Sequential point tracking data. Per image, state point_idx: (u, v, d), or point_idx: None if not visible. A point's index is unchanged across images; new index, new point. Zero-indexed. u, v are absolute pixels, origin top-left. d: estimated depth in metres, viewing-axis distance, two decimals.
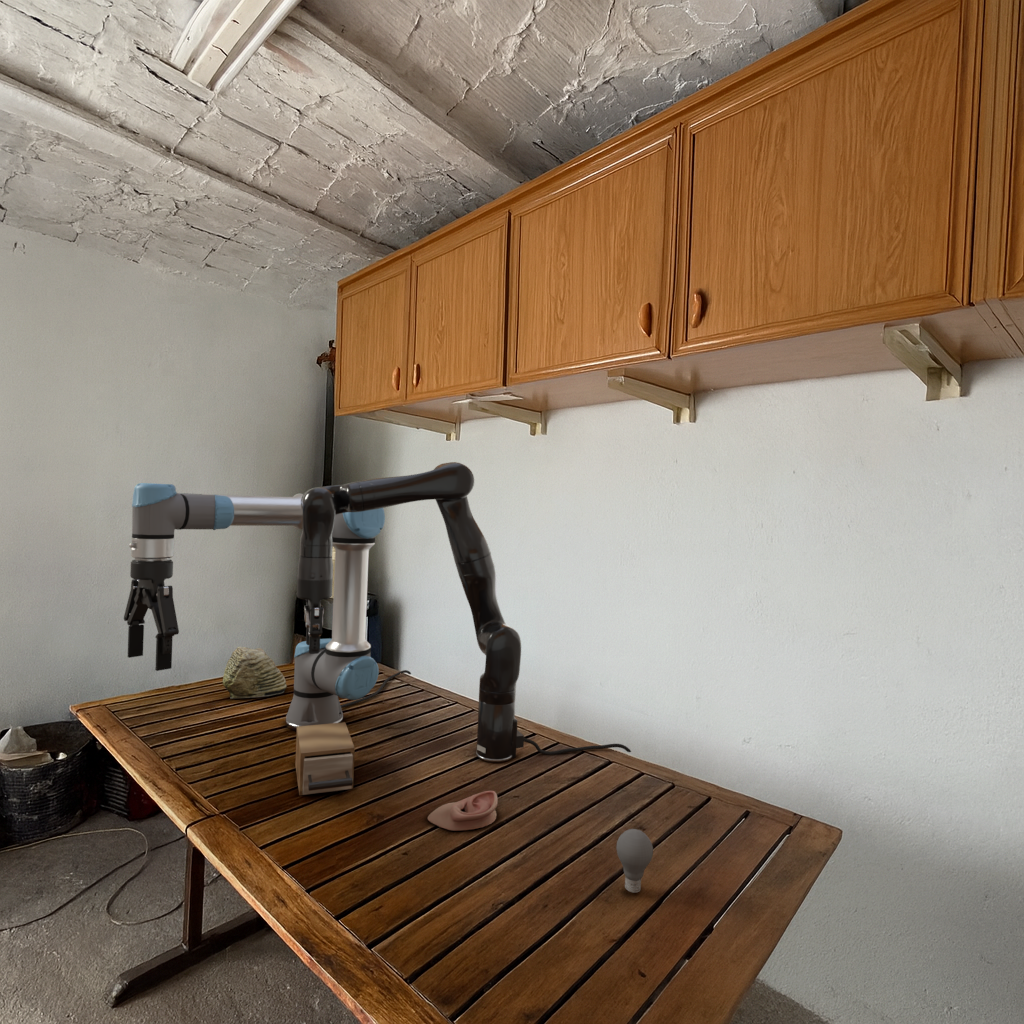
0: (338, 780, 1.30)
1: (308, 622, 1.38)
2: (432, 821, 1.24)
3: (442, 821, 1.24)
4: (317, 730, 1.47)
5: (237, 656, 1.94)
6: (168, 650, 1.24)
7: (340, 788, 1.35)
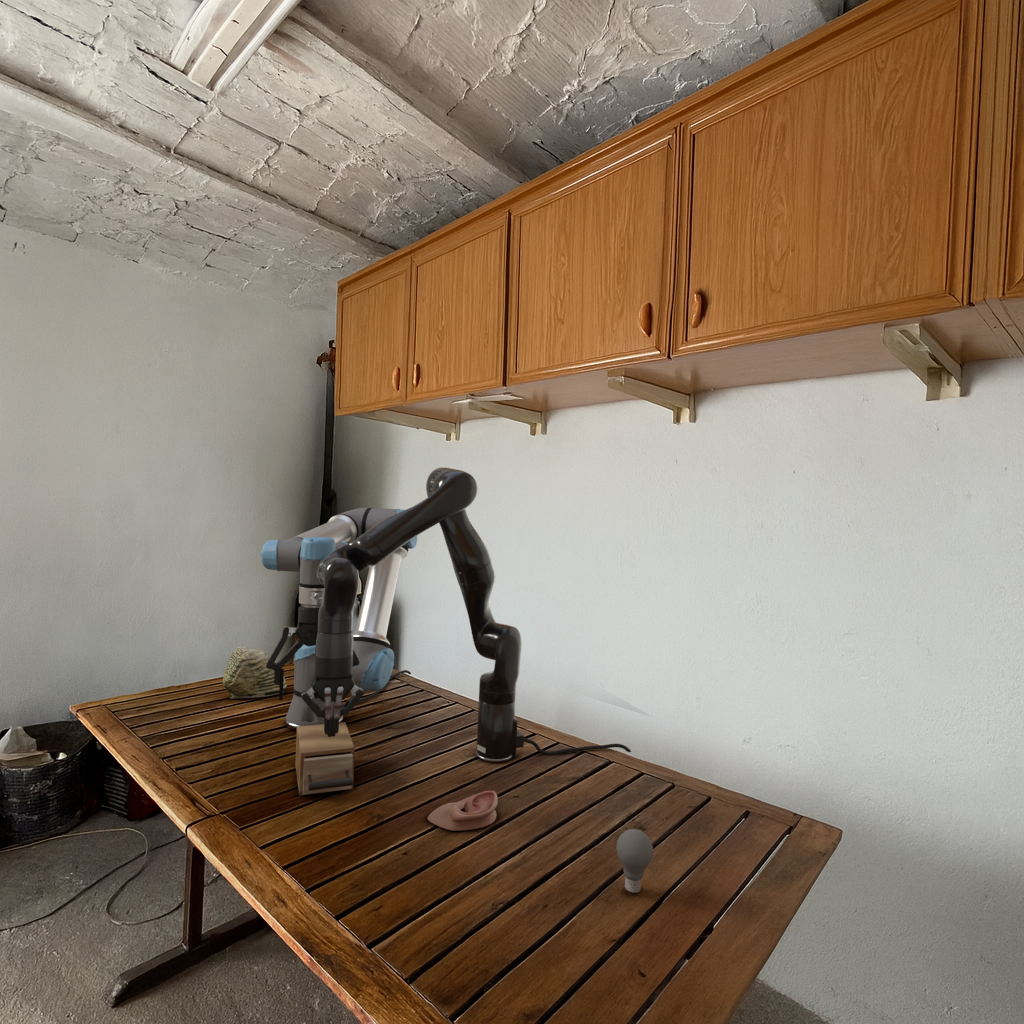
0: (338, 780, 1.30)
1: (323, 701, 1.32)
2: (432, 821, 1.24)
3: (442, 821, 1.24)
4: (317, 730, 1.47)
5: (237, 656, 1.94)
6: None
7: (340, 788, 1.35)
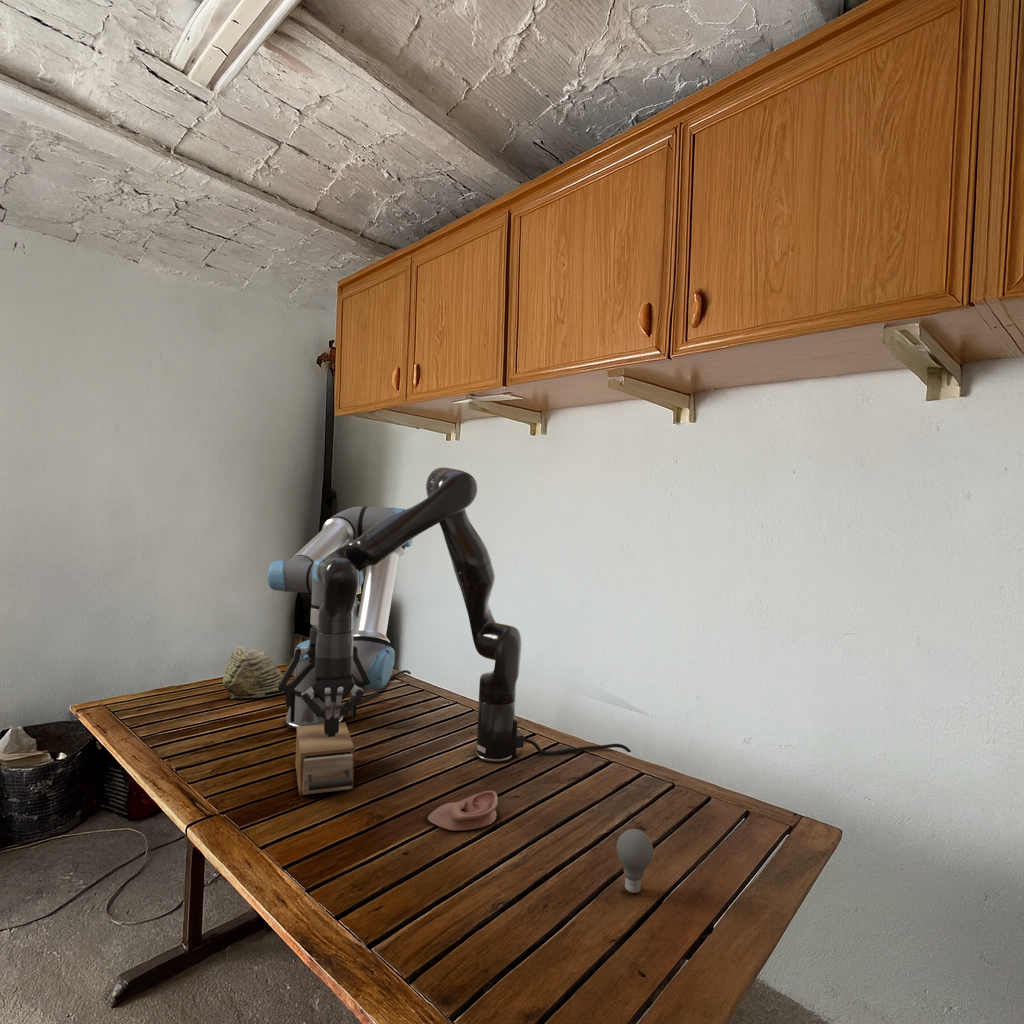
0: (338, 780, 1.30)
1: (323, 701, 1.32)
2: (432, 821, 1.24)
3: (442, 821, 1.24)
4: (317, 730, 1.47)
5: (237, 656, 1.94)
6: None
7: (340, 788, 1.35)
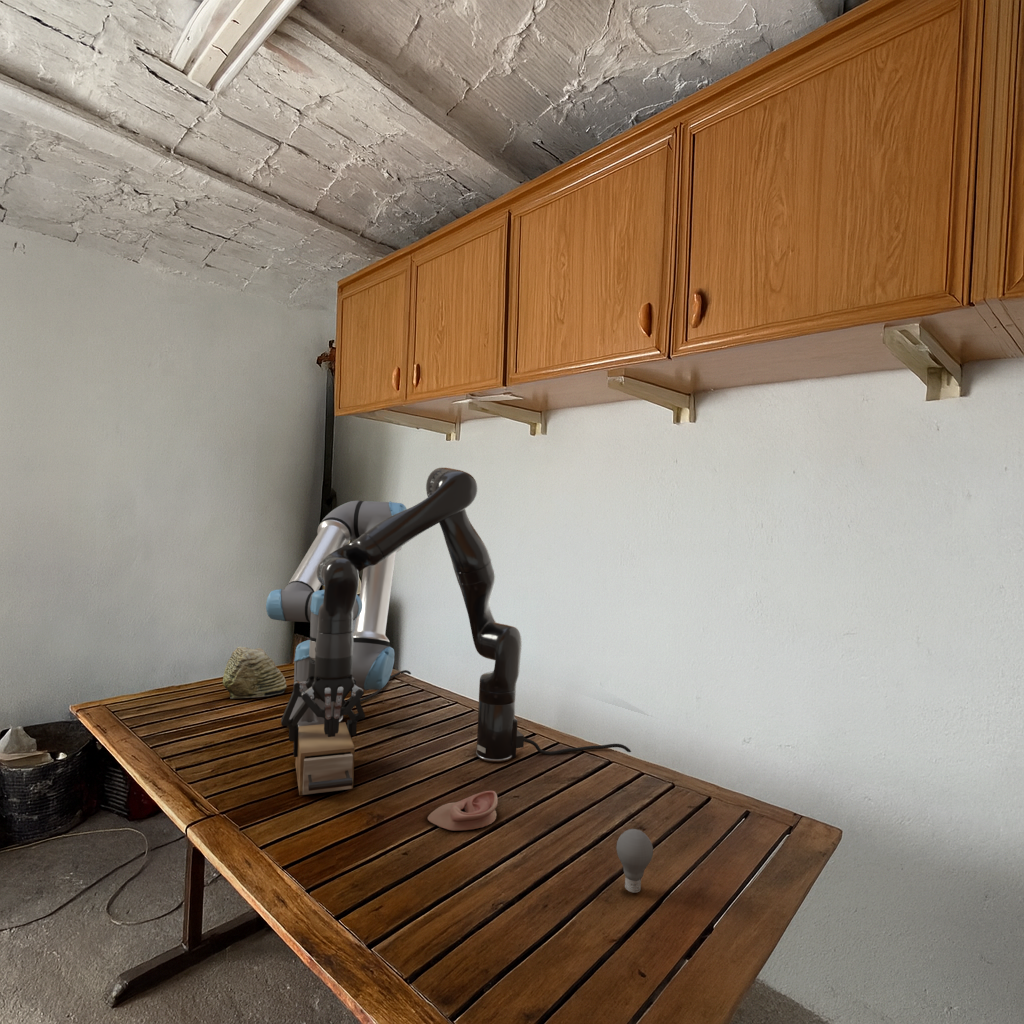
0: (338, 780, 1.30)
1: (323, 701, 1.32)
2: (432, 821, 1.24)
3: (442, 821, 1.24)
4: (317, 730, 1.47)
5: (237, 656, 1.94)
6: (355, 731, 1.49)
7: (340, 788, 1.35)
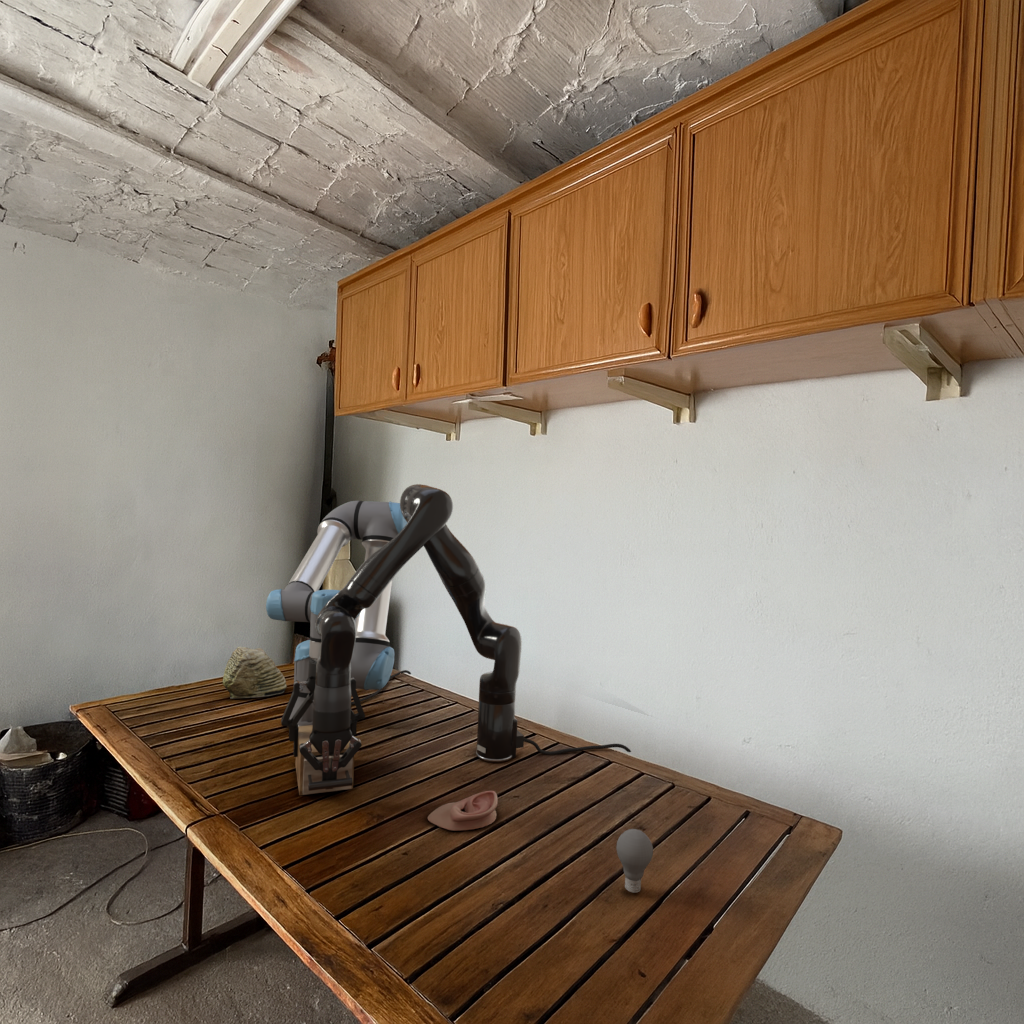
0: (338, 780, 1.30)
1: None
2: (432, 821, 1.24)
3: (442, 821, 1.24)
4: None
5: (237, 656, 1.94)
6: None
7: (340, 788, 1.35)
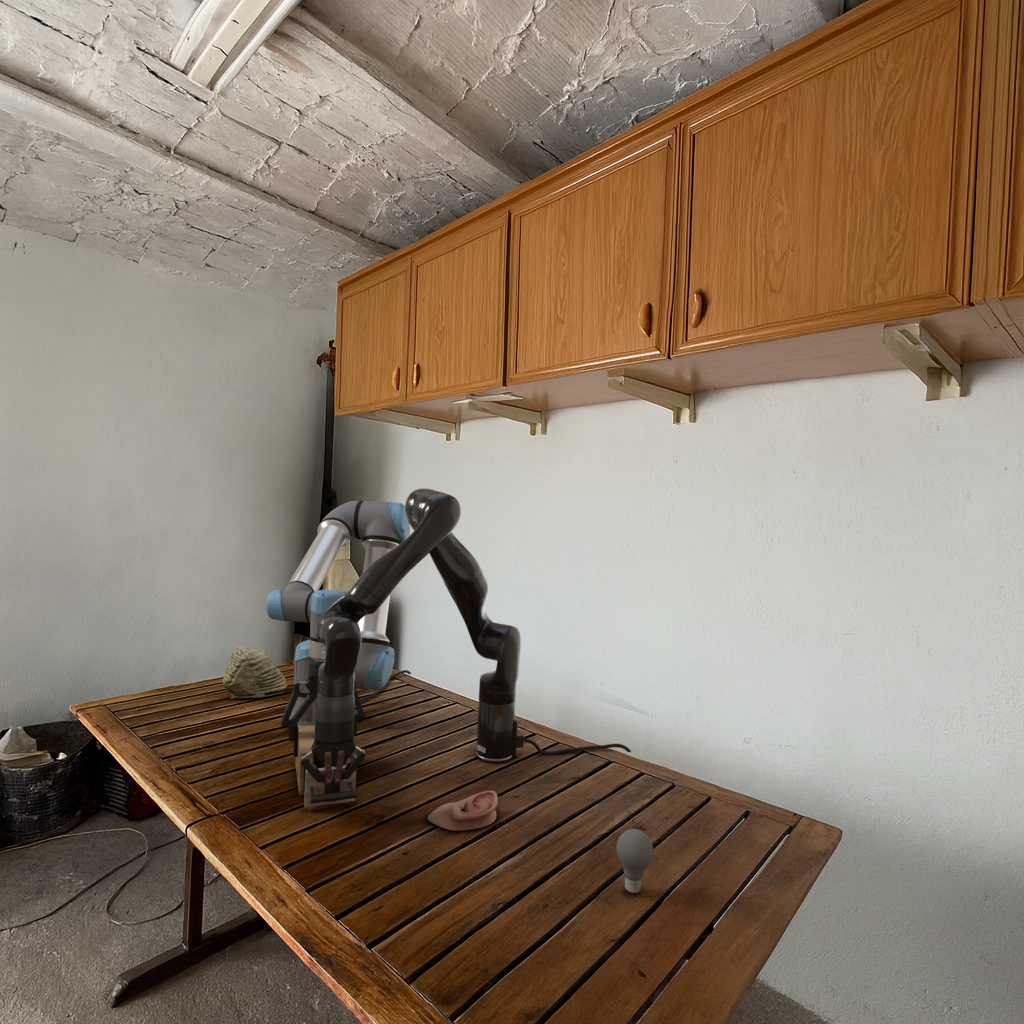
0: (341, 792, 1.24)
1: None
2: (432, 821, 1.24)
3: (442, 821, 1.24)
4: None
5: (237, 656, 1.94)
6: (355, 731, 1.49)
7: (343, 800, 1.30)
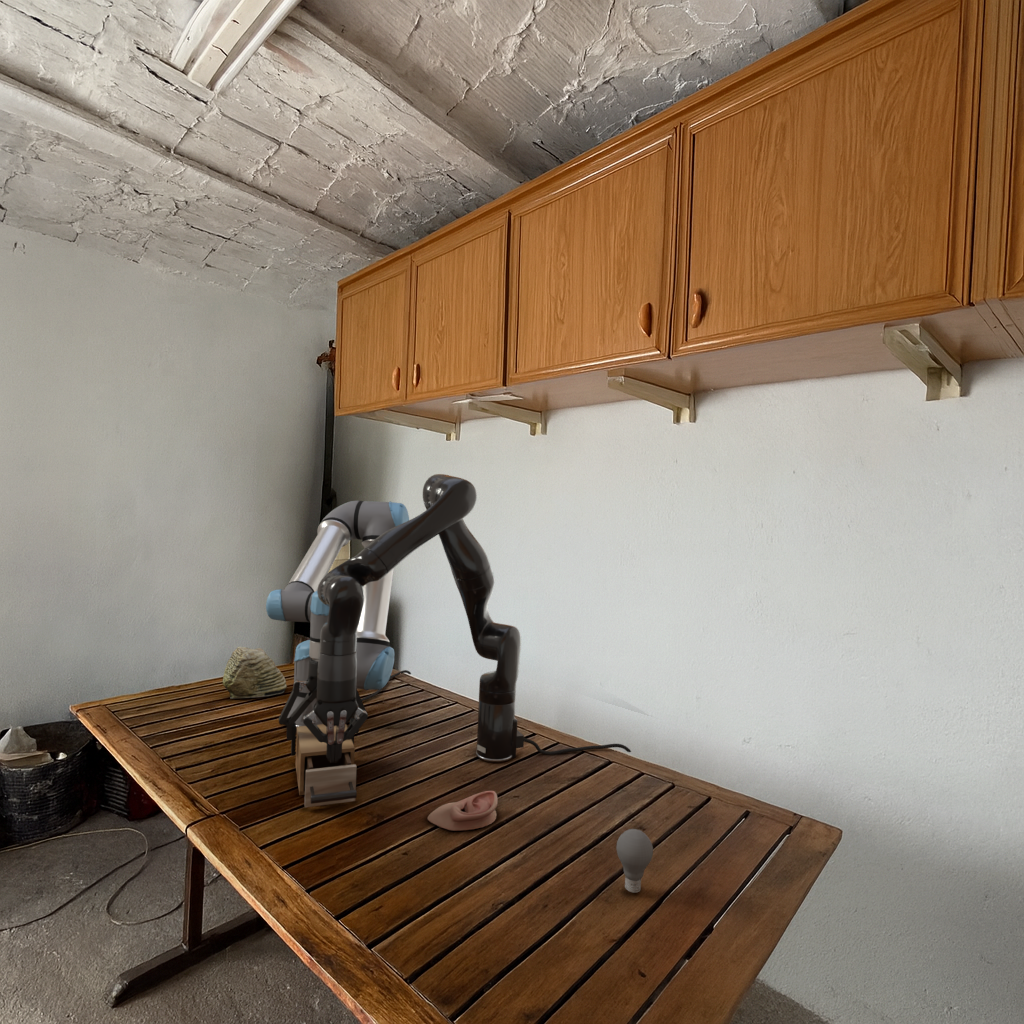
0: (341, 792, 1.24)
1: (326, 725, 1.26)
2: (432, 821, 1.24)
3: (442, 821, 1.24)
4: None
5: (237, 656, 1.94)
6: None
7: (343, 800, 1.30)
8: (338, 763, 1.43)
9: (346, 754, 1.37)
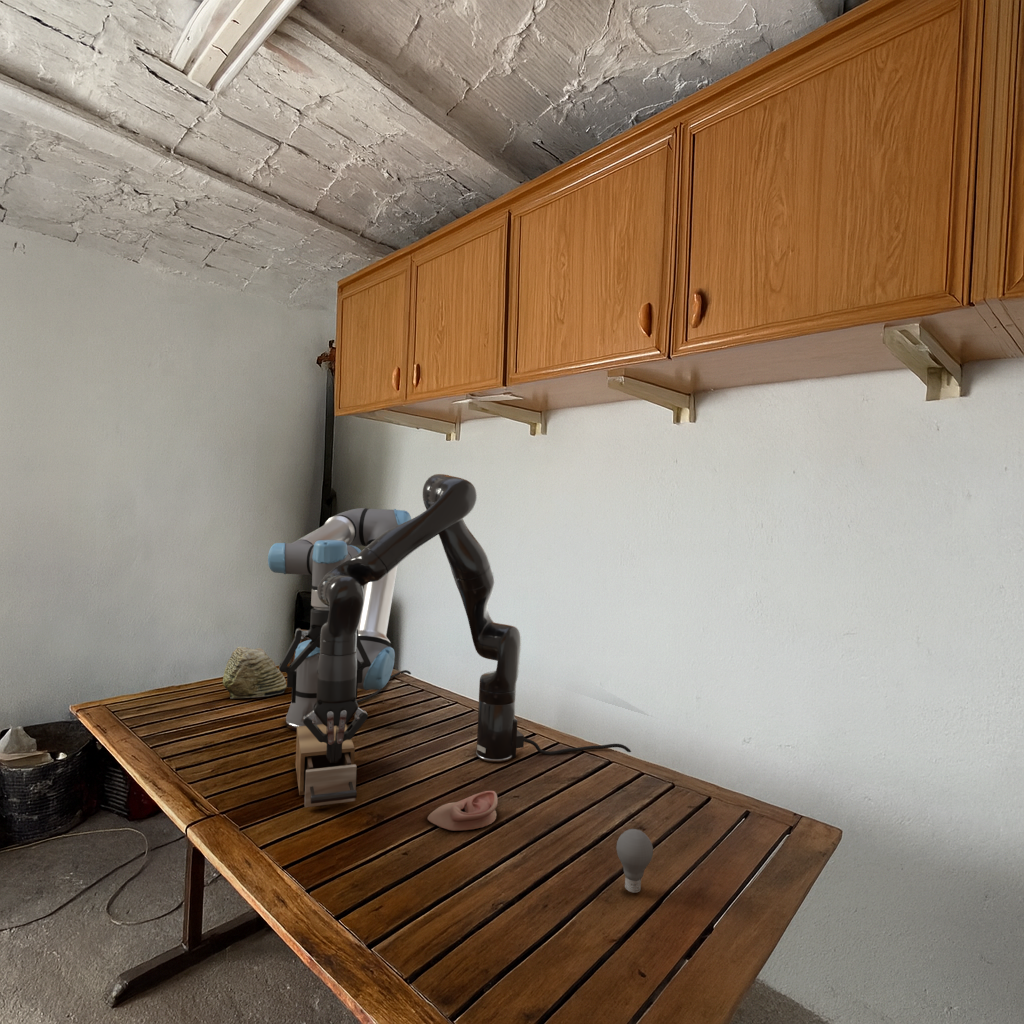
0: (341, 792, 1.24)
1: (326, 725, 1.26)
2: (432, 821, 1.24)
3: (442, 821, 1.24)
4: None
5: (237, 656, 1.94)
6: (361, 679, 1.49)
7: (343, 800, 1.30)
8: (338, 763, 1.43)
9: (346, 754, 1.37)
